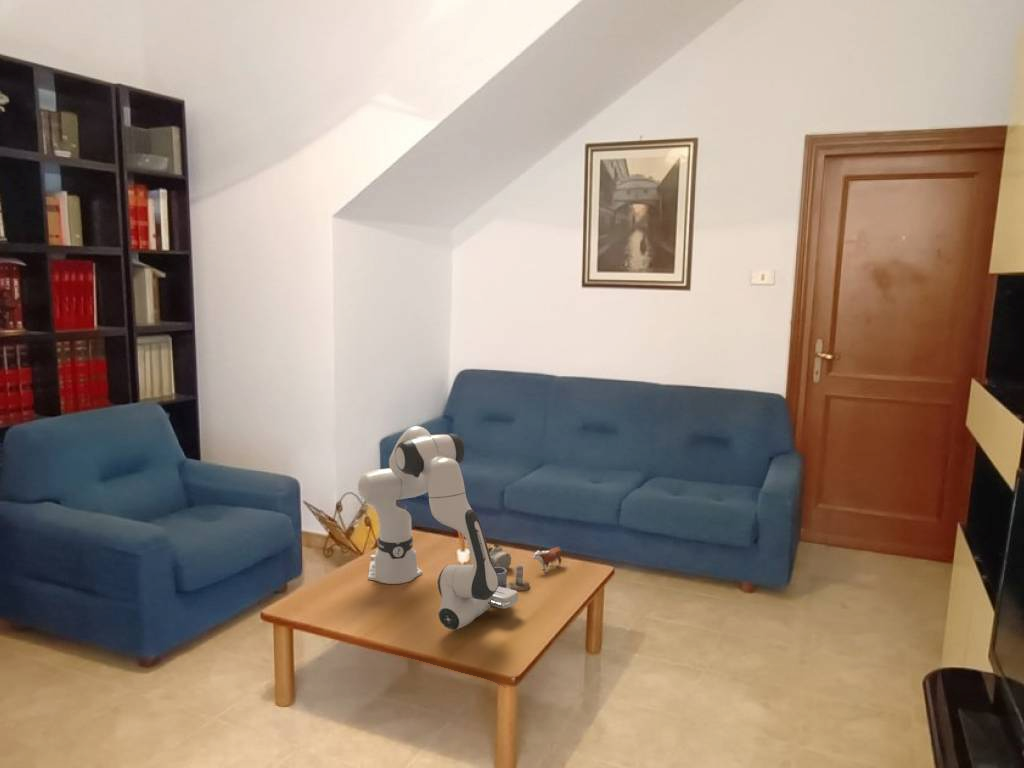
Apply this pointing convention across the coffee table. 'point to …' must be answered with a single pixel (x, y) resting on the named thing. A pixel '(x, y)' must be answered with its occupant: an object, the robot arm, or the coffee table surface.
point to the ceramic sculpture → (499, 557)
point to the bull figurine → (548, 557)
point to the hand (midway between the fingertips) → (498, 584)
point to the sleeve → (501, 576)
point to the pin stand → (519, 580)
